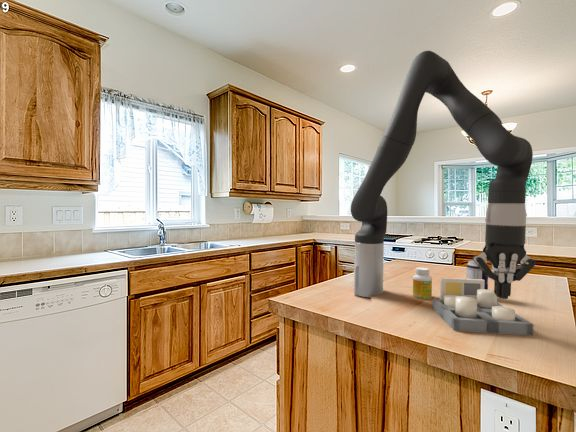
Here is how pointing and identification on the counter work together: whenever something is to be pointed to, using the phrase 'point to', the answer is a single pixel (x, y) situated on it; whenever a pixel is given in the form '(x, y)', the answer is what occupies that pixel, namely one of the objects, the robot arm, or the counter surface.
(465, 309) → the button front left
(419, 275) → the supplement bottle
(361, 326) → the counter surface
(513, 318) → the button front right
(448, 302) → the button back left
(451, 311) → the button board
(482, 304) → the button back right
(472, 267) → the beverage can
